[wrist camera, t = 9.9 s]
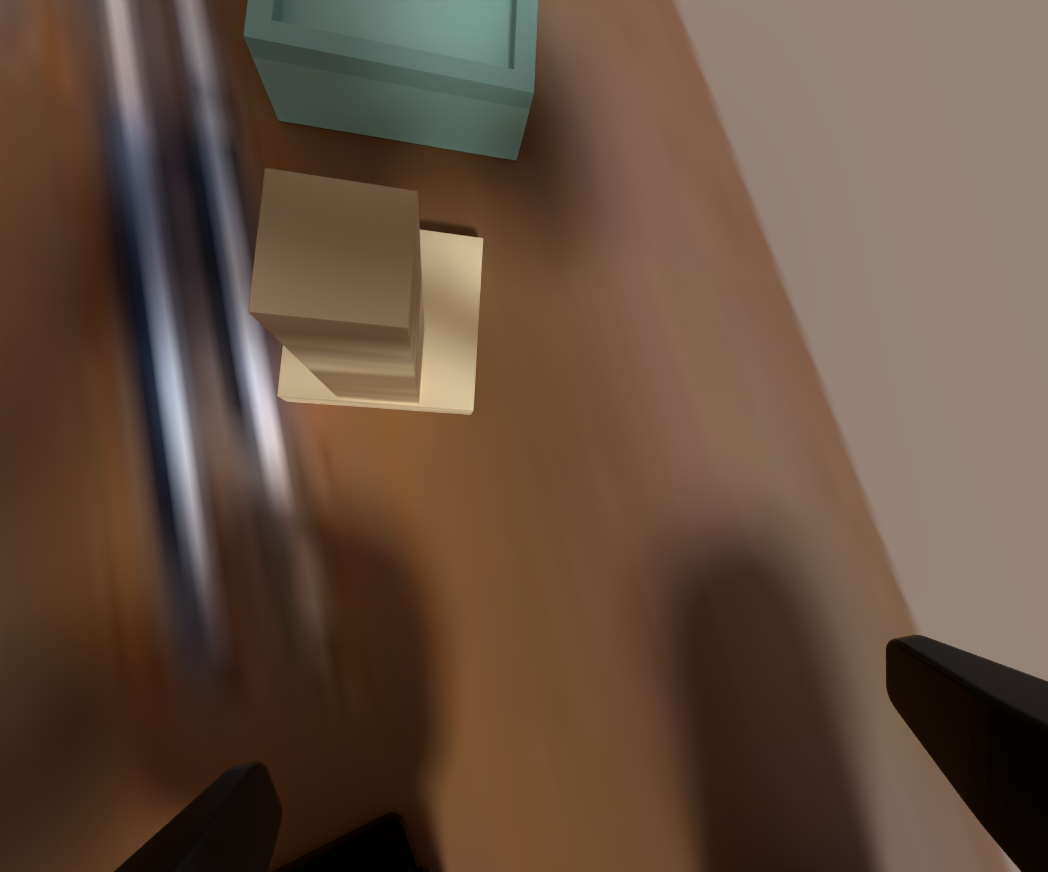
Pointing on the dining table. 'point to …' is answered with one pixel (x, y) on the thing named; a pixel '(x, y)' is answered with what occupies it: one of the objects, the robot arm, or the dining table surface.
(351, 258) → the tan boxy piece
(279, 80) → the teal square tray
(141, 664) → the dining table surface
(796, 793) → the dining table surface
